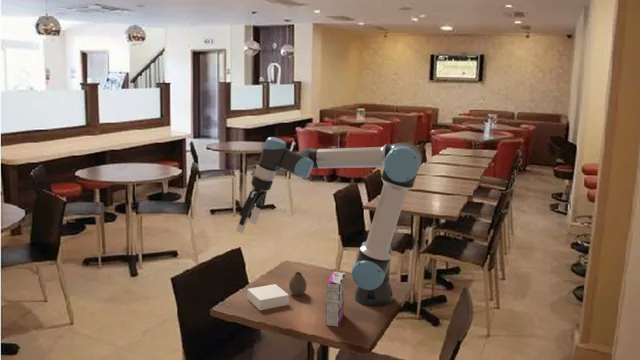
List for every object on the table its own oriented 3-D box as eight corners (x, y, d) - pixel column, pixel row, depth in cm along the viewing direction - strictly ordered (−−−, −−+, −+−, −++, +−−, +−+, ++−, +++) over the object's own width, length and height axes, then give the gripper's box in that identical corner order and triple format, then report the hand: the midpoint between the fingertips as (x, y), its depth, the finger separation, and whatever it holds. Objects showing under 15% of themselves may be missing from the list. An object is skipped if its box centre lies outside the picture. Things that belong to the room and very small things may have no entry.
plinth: (288, 304, 221) (288, 294, 220) (259, 310, 215) (259, 300, 214) (275, 293, 231) (275, 284, 230) (247, 298, 225) (247, 288, 224)
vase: (308, 291, 234) (309, 271, 232) (303, 298, 227) (303, 277, 225) (292, 289, 236) (292, 269, 234) (286, 295, 229) (287, 274, 227)
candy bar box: (330, 312, 215) (332, 271, 212) (344, 314, 214) (345, 272, 211) (324, 325, 204) (326, 282, 201) (338, 327, 203) (340, 283, 200)
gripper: (266, 167, 229) (249, 215, 235) (242, 179, 206) (224, 231, 211) (283, 175, 228) (265, 222, 234) (261, 187, 205) (242, 240, 210)
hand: (246, 227), depth 223 cm, fingers open, 13 cm apart
